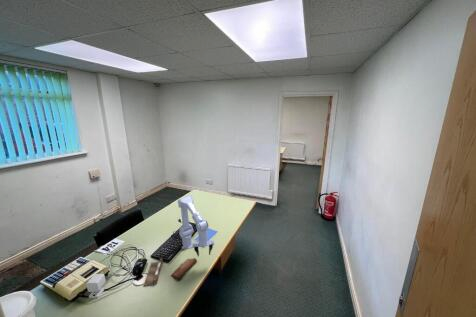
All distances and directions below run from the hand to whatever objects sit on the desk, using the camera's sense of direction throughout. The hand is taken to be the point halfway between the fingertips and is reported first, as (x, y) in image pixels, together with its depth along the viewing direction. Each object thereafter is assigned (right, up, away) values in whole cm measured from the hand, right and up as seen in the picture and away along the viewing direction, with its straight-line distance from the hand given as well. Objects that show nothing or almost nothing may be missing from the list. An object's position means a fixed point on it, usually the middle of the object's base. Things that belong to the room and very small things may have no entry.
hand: (204, 254), depth 127 cm
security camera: (-61, -14, -16) cm, 65 cm away
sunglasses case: (-14, -11, 0) cm, 17 cm away
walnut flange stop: (-33, -11, -3) cm, 35 cm away
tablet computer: (-4, -2, +34) cm, 34 cm away
